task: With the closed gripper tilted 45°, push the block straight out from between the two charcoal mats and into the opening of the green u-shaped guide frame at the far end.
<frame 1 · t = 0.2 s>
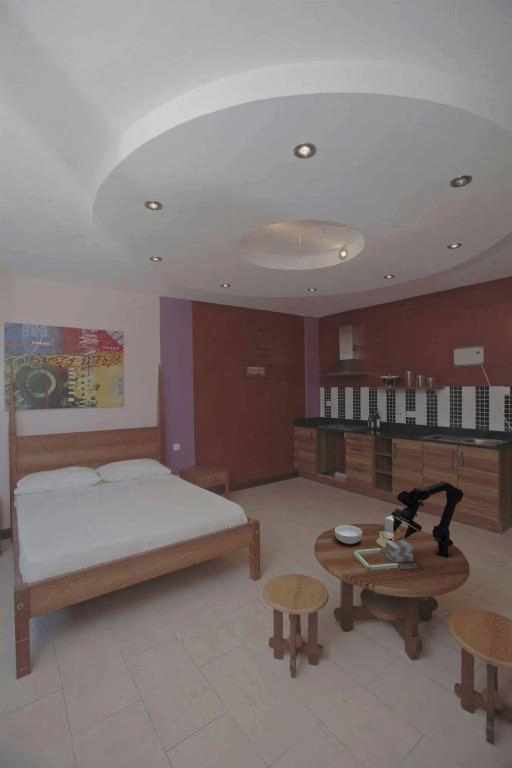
hand: (399, 534, 199), 15 cm above the table, tool tilted 35°, fingers open, 9 cm apart
small box: (392, 538, 228), on the table
cereal bowl: (348, 541, 224), on the table
green u-shaped guide frame: (375, 560, 200), on the table
block: (399, 558, 202), on the table
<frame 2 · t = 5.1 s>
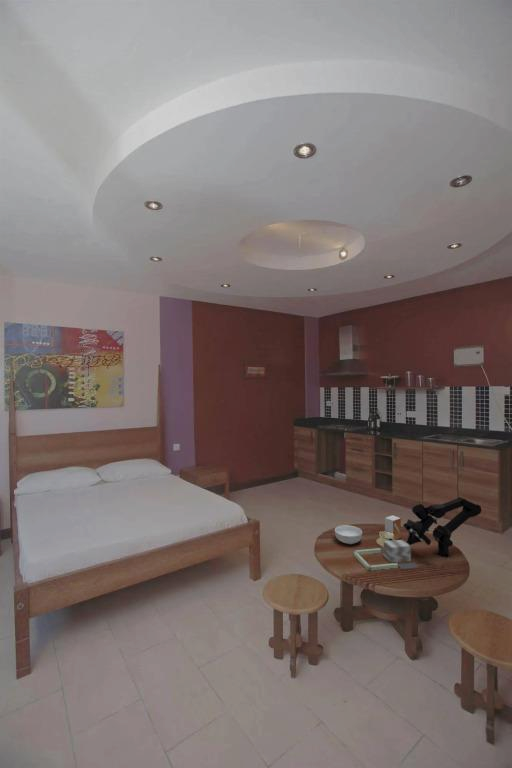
hand: (407, 544, 203), 7 cm above the table, tool tilted 45°, fingers closed, pressing on block
block: (397, 558, 202), on the table, touching gripper
everything else where it was.
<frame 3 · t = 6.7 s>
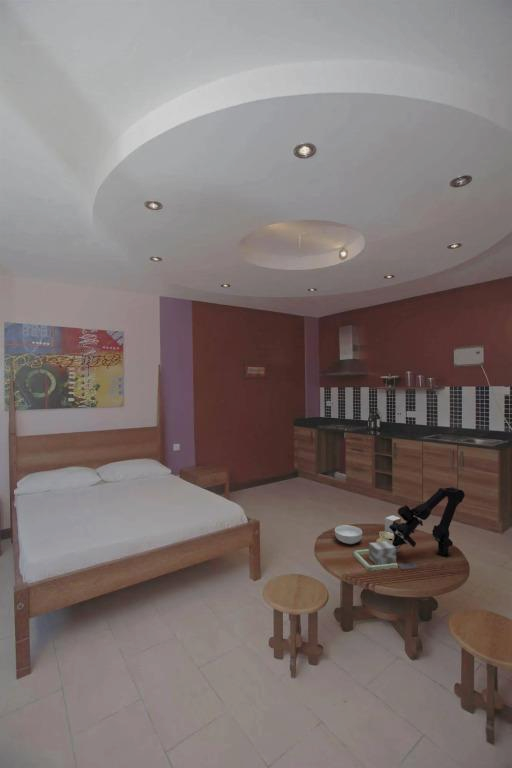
hand: (392, 546, 201), 7 cm above the table, tool tilted 45°, fingers closed, pressing on block
block: (382, 560, 200), on the table, touching gripper
everything else where it was.
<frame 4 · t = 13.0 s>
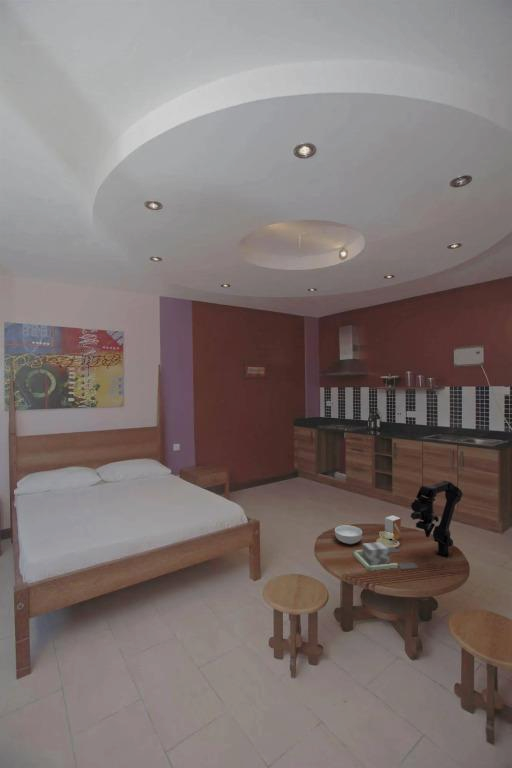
hand: (427, 536, 200), 13 cm above the table, tool pointing down, fingers closed
block: (375, 561, 200), on the table
everything else where it was.
at the end: block 0.1 cm from the green u-shaped guide frame (horizontally); block tilted 0° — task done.
